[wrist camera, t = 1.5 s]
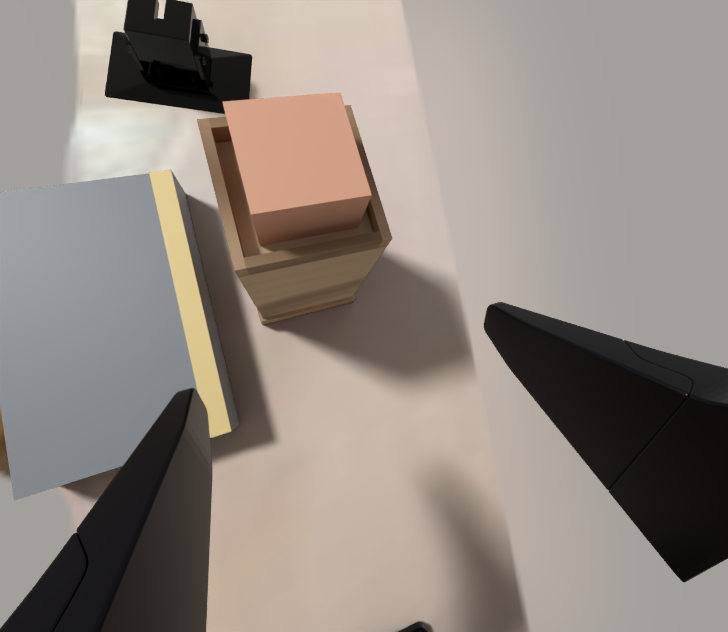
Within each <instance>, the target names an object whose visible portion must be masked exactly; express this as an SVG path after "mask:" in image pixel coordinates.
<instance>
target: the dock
mask: <svg viewBox="0 0 728 632" xmlns="http://www.w3.org/2000/svg"><path fill="white" fill-rule="evenodd" d="M188 388H195V389H196V390H197V392H198V394H199V396H200V397H201V399H202V401H203V403H204V404H205V406H206V409H207V413H208V421H209V433H210V438H212V437H215V436H219V435H222V434H225V433H228V432H231V431H232V430H234V429H235V428H236V427H237V426H238V425H240V424H239V420H238V415H237V411H236V407H235V403H234V398H233V394H232V390H231V386H230V381H229V377H228V373H227V369H226V364H225V360H224V356H223V352H222V347H221V343H220V339H219V334H218V330H217V326H216V322H215V317H214V313H213V309H212V305H211V300H210V296H209V292H208V288H207V283H206V279H205V275H204V271H203V266H202V262H201V258H200V254H199V249H198V245H197V241H196V237H195V232H194V228H193V224H192V220H191V215H190V211H189V207H188V203H187V198H186V194H185V192H184V190H183V189H182V187H181V185H180V184H179V182H178V180H177V179H176V177H175V176H174V174H173V172H172V171H171V170H164V171H156V172H149V174H141V175H133V176H125V177H117V178H109V179H102V180H94V181H86V182H78V183H70V184H62V185H54V186H47V187H39V188H31V189H23V190H16V191H7V192H0V407H1V414H2V421H3V427H4V434H5V441H6V448H7V455H8V462H9V468H10V475H11V482H12V489H13V496H14V500H17V499H21V498H24V497H27V496H30V495H33V494H36V493H39V492H43V491H46V490H49V489H52V488H55V487H58V486H62V485H65V484H68V483H71V482H74V481H77V480H80V479H83V478H87V477H90V476H93V475H96V474H99V473H102V472H105V471H108V470H112V469H115V468H118V467H121V466H123V465H124V463H125V462H126V461H127V459H128V458H129V457H130V455H131V454H132V452H133V451H134V450H135V448H136V447H137V446H138V444H139V443H140V441H141V440H142V439H143V437H144V436H145V435H146V433H147V432H148V430H149V429H150V428H151V426H152V425H153V424H154V422H155V421H156V419H157V418H158V417H159V415H160V414H161V413H162V411H163V410H164V408H165V407H166V406H167V404H168V403H169V402H170V400H171V399H172V397H173V396H174V395H175V394H176V393H177V392H178V391H181V390H185V389H188Z"/></svg>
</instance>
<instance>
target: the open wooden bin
mask: <svg viewBox="0 0 728 632" xmlns="http://www.w3.org/2000/svg"><path fill="white" fill-rule="evenodd" d="M345 109H346V113H347V116H348V119H349V122H350V126H351V129H352V132H353V135H354V139H355V142H356V145H357V149H358V152H359V155H360V158H361V162H362V165H363V168H364V171H365V175H366V178H367V181H368V185H369V188H370V191H371V194H372V196H371V198H370V200H369V203H368V205H367V208H366V210H365V213H364V215H363V218H362V220H361V222H360V225H359V227H358V228H354V229H349V230H343V231H338V232H332V233H327V234H322V235H316V236H311V237H305V238H300V239H295V240H289V241H284V242H278V243H273V244H268V245H262V246H260V244H259V241H258V237H257V234H256V230H255V227H254V223H253V220H252V217H251V213H250V209H249V205H248V201H247V197H246V193H245V189H244V185H243V181H242V177H241V174H240V170H239V166H238V162H237V158H236V154H235V150H234V146H233V142H232V138H231V134H230V130H229V126H228V122H227V118H226V117H218V118H207V119H197V122H198V126H199V130H200V134H201V138H202V142H203V146H204V150H205V154H206V158H207V162H208V166H209V170H210V174H211V178H212V182H213V186H214V190H215V194H216V198H217V203H218V207H219V211H220V215H221V219H222V223H223V227H224V231H225V235H226V239H227V243H228V247H229V251H230V255H231V259H232V263H233V267H234V271H235V273H236V274H237V276H238V278H239V279H240V281H241V283H242V284H243V286H244V287H245V289H246V291H247V292H248V294H249V296H250V297H251V299H252V301H253V302H254V304H255V306H256V307H257V309H258V313H259V317H260V321H261V323H262V325H264V324H268V323H272V322H276V321H280V320H284V319H288V318H292V317H296V316H300V315H304V314H308V313H312V312H316V311H320V310H324V309H328V308H332V307H337V306H341V305H345V304H349V303H353V302H354V300H355V299H356V297H355V294H354V293H355V292H356V290H357V289H358V288H359V286H360V285H361V283H362V282H363V280H364V279H365V277H366V276H367V274H368V273H369V272H370V270H371V269H372V267H373V266H374V264H375V263H376V261H377V260H378V258H379V257H380V256H381V254H382V253H383V251H384V250H385V248H386V247H387V245H388V244H389V242H390V241H391V240H392V236H391V233H390V229H389V226H388V223H387V220H386V217H385V214H384V210H383V207H382V204H381V201H380V198H379V194H378V191H377V188H376V185H375V182H374V179H373V175H372V172H371V169H370V166H369V163H368V159H367V156H366V153H365V150H364V147H363V144H362V140H361V137H360V134H359V131H358V128H357V124H356V121H355V118H354V115H353V112H352V109H351V105H347V106H345Z"/></svg>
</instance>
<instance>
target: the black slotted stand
mask: <svg viewBox="0 0 728 632" xmlns="http://www.w3.org/2000/svg"><path fill="white" fill-rule="evenodd" d="M158 10H159V2H158V0H128V2H127V8H126V15H125V22H124V31H125V33H123V32H117V31H116V32H114V33H113V39H112V46H111V54H110V61H109V68H108V75H107V82H106V89H105V96H106V97H110V98H117V99H124V100H131V101H138V102H145V103H152V104H159V105H166V106H173V107H181V108H188V109H195V110H202V111H209V112H216V113H223V114H225V110H224V106H223V101H236V100H249V92H250V78H251V65H252V55H250V54H245V53H239V52H233V51H227V50H221V49H216V48H210V47H209V46H208V43H209V39H208V35H207V34H205V31H204V27H203V24H202V20H198V19H197V18H196V14H195V11H194V7H193V4H192V3H187V2H182V1H177V0H166V4H165V12H164V19H159V18H157V17H158Z"/></svg>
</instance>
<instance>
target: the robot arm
mask: <svg viewBox="0 0 728 632" xmlns="http://www.w3.org/2000/svg"><path fill="white" fill-rule="evenodd" d="M484 330H485V332H486V333H487V335H488V336H489V338H490V340H491V341H492V342H493V344H494V346H495V347H496V349H497V350H498V352H499V353H500V355H501V357H502V358H503V359H504V361H505V363H506V364H507V365H508V367H509V368H510V370H511V371H512V372H513V374H514V375H515V376H516V377H517V378H518V380H519V381H520V382H521V383H522V384H523V386H524V387H525V388H526V390H527V391H528V392H529V393H530V395H531V396H532V397H533V398H534V400H535V401H536V402H537V403H538V404H539V405H540V407H541V408H542V409H543V411H544V412H545V413H546V414H547V416H548V417H549V418H550V419H551V421H552V422H553V423H554V424H555V425H556V427H557V428H558V429H559V430H560V432H561V433H562V434H563V435H564V437H565V438H566V439H567V440H568V442H569V443H570V444H571V445H572V447H574V449H575V450H576V451H577V453H578V454H579V455H580V456H581V458H582V459H583V460H584V461H585V463H586V464H587V465H588V466H589V468H590V469H591V470H592V471H593V473H594V474H595V475H596V476H597V477H598V479H599V480H600V481H601V482H602V484H603V485H604V486H605V487H606V489H608V490H609V493H610V494H611V495H612V496H613V498H614V499H615V500H616V501H617V502H618V504H619V505H620V506H621V507H622V509H623V510H624V511H625V512H626V514H627V515H628V516H629V517H630V518H631V520H632V521H633V522H634V524H635V525H636V526H637V527H638V529H639V530H640V531H641V532H642V533H643V535H644V536H645V537H646V538H647V540H648V541H649V542H650V543H651V545H652V546H653V547H654V548H655V550H657V552H658V553H659V555H660V556H661V557H662V558H663V559H664V561H665V562H666V563H667V564H668V566H669V567H670V568H671V569H672V570H673V572H674V573H675V574H676V575H677V576H678V577H679V578H680V580H681V581H682V582H686V581H688V580H690V579H692V578H694V577H695V576H697V575H699V574H701V573H702V572H704V571H706V570H708V569H710V568H711V567H713V566H715V565H717V564H719V563H720V562H722V561H724V560H726V559H728V368H724V367H720V366H716V365H712V364H708V363H704V362H700V361H697V360H693V359H689V358H685V357H681V356H678V355H674V354H670V353H666V352H663V351H659V350H656V349H652V348H649V347H646V346H642V345H639V344H636V343H632V342H629V341H626V340H624V341H623V340H622V339H619V338H616V337H613V336H610V335H606V334H603V333H600V332H596V331H593V330H590V329H587V328H584V327H580V326H577V325H574V324H571V323H567V322H564V321H561V320H558V319H555V318H551V317H548V316H545V315H541V314H538V313H535V312H532V311H528V310H525V309H522V308H519V307H516V306H512V305H509V304H506V303H503V302H498V303H495V304H491V305H489V306H488V308H487V311H486V316H485V321H484ZM211 496H212V456H211V444H210V433H209V421H208V413H207V409H206V406H205V404H204V403H203V401H202V399H201V397H200V396H199V394H198V392H197V390H196V389H195V388H188V389H185V390H181V391H178V392H177V393H176V394H175V395H174V396H173V397H172V399H171V400H170V402H169V403H168V404H167V406H166V407H165V408H164V410H163V411H162V413H161V414H160V415H159V417H158V418H157V419H156V421H155V422H154V424H153V425H152V426H151V428H150V429H149V430H148V432H147V433H146V435H145V436H144V437H143V439H142V440H141V441H140V443H139V444H138V446H137V447H136V448H135V450H134V451H133V452H132V454H131V455H130V457H129V458H128V459H127V461H126V462H125V463H124V465H123V466H122V468H121V469H120V470H119V472H118V473H117V475H116V476H115V477H114V479H113V480H112V481H111V483H110V484H109V486H108V487H107V488H106V490H105V491H104V492H103V494H102V495H101V497H100V498H99V499H98V501H97V502H96V503H95V505H94V506H93V508H92V509H91V510H90V512H89V513H88V514H87V516H86V517H85V519H84V520H83V521H82V523H81V524H80V525H79V527H78V528H77V533H74V534H73V535H72V536H71V538H70V539H69V540H68V542H67V543H66V545H65V546H64V547H63V549H62V550H61V551H60V553H59V554H58V555H57V557H56V558H55V560H54V561H53V562H52V563H51V565H50V566H49V567H48V569H47V570H46V571H45V573H44V574H43V575H42V577H41V578H40V579H39V581H38V582H37V583H36V585H35V586H34V587H33V589H32V590H31V591H30V592H29V593H28V595H27V596H26V597H25V598H24V600H23V601H22V602H21V603H20V605H19V606H18V607H17V609H16V610H15V611H14V612H13V613H12V615H11V616H10V617H9V618H8V620H7V621H6V622H5V623H4V625H3V626H2V627H1V628H0V632H206V619H207V594H208V570H209V545H210V521H211ZM399 632H427V631H426V629H425V627H424V625H423V624H422V623H419V622H417V623H415V624H413V625H411V626H409V627H407V628H405V629H403V630H401V631H399Z"/></svg>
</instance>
